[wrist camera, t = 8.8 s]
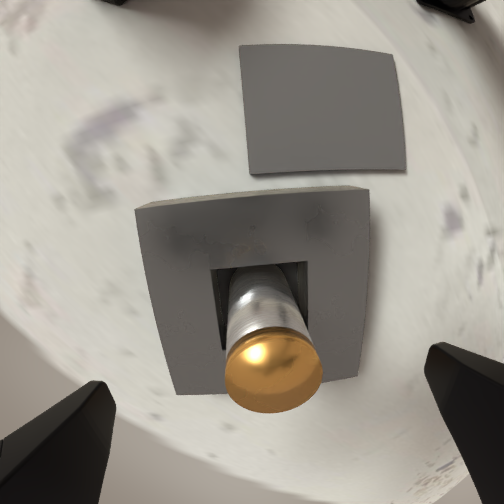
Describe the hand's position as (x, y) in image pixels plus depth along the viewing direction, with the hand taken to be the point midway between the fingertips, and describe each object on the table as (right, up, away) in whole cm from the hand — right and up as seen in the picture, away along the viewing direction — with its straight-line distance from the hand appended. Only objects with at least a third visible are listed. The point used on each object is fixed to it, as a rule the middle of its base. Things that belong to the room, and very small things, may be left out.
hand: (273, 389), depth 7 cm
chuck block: (0, +1, +12) cm, 12 cm away
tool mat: (+4, +12, +9) cm, 16 cm away
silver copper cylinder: (0, +1, +12) cm, 12 cm away
